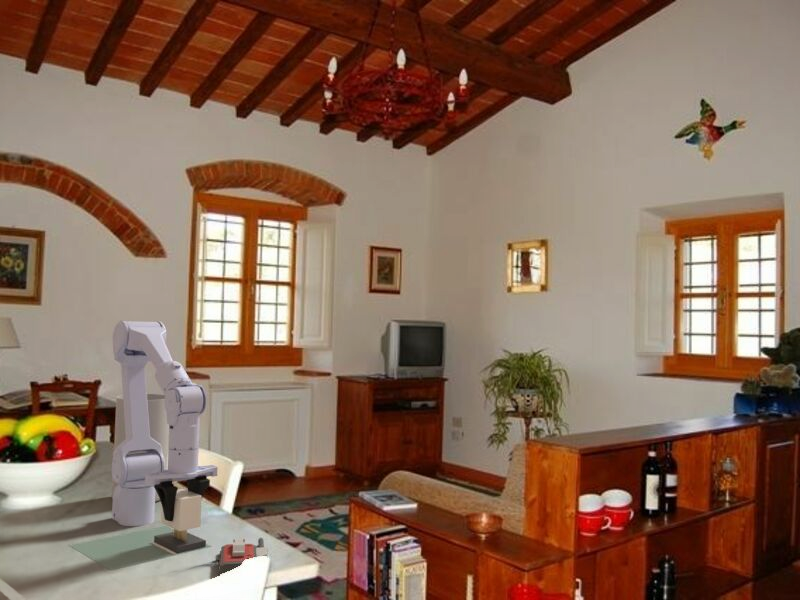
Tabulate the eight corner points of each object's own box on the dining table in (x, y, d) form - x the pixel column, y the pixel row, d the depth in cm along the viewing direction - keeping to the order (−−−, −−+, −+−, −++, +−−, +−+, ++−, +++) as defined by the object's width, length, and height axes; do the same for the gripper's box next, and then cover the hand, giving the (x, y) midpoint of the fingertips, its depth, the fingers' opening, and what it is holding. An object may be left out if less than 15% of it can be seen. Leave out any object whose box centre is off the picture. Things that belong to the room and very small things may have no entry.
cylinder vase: (152, 507, 170) (157, 401, 170) (101, 503, 171) (106, 398, 171) (173, 493, 183) (178, 395, 183) (126, 490, 184) (130, 392, 184)
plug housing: (161, 523, 141) (162, 492, 141) (181, 519, 144) (183, 489, 144) (179, 531, 136) (180, 499, 136) (200, 526, 139) (201, 495, 140)
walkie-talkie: (269, 582, 126) (266, 546, 145) (270, 556, 126) (266, 524, 145) (217, 584, 124) (221, 547, 143) (218, 558, 124) (222, 525, 143)
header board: (68, 550, 138) (69, 523, 138) (165, 530, 152) (166, 505, 152) (110, 575, 125) (111, 545, 125) (211, 551, 140) (212, 524, 140)
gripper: (159, 455, 133) (156, 529, 132) (226, 446, 143) (224, 515, 143) (140, 449, 137) (138, 521, 137) (207, 441, 148) (205, 508, 148)
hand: (180, 517), depth 140 cm, fingers closed on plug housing, 4 cm apart
